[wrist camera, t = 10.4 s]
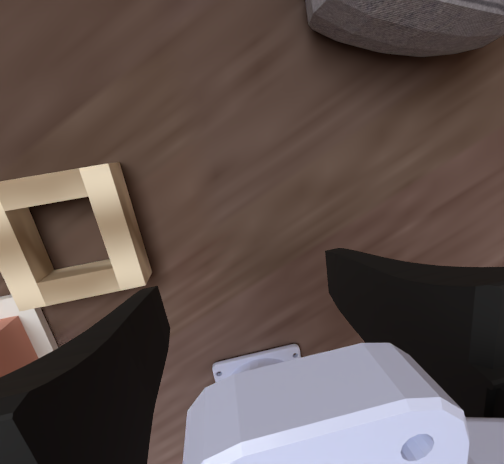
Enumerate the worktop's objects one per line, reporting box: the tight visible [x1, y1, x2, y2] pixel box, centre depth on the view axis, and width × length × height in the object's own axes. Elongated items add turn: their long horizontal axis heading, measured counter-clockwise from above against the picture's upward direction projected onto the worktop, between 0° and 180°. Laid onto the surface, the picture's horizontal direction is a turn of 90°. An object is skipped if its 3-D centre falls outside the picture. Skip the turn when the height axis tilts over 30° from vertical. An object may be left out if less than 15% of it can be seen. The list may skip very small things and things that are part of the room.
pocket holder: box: [0, 162, 152, 311], centre depth 19 cm, size 8×8×2 cm
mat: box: [0, 295, 58, 358], centre depth 21 cm, size 7×6×1 cm
